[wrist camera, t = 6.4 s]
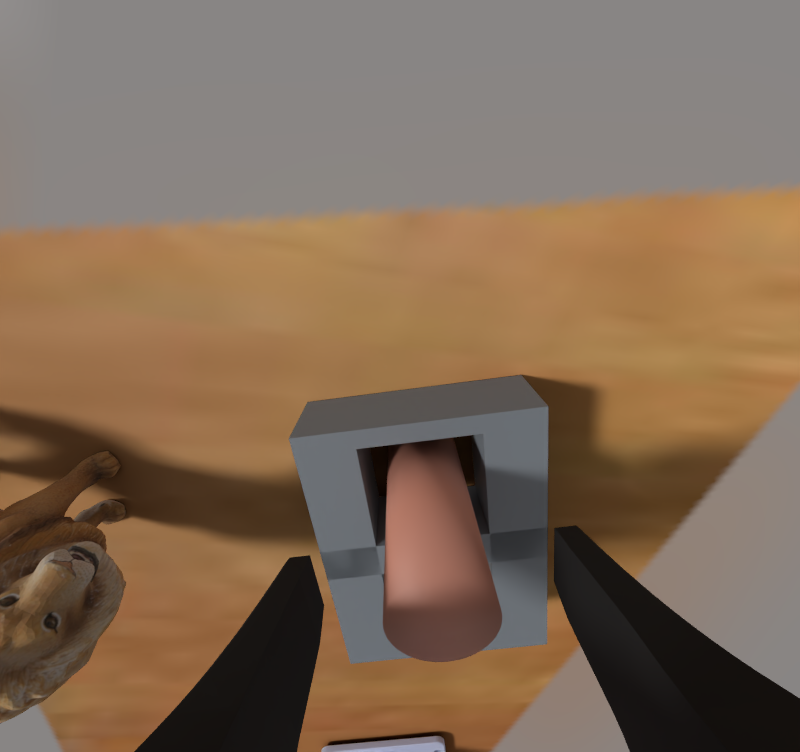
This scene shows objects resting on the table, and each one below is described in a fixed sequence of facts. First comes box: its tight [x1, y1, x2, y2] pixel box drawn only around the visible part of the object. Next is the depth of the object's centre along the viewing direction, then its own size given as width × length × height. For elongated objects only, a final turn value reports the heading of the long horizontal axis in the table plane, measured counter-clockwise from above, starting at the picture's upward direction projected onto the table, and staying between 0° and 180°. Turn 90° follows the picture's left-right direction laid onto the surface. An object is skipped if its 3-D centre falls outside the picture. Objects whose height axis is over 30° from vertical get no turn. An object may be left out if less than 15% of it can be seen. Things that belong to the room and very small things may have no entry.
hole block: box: [289, 375, 548, 664], centre depth 17 cm, size 12×9×3 cm
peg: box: [383, 437, 502, 662], centre depth 13 cm, size 3×3×8 cm
